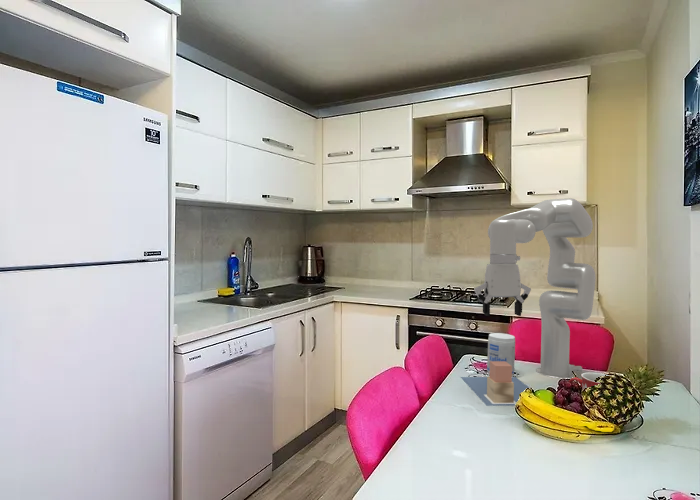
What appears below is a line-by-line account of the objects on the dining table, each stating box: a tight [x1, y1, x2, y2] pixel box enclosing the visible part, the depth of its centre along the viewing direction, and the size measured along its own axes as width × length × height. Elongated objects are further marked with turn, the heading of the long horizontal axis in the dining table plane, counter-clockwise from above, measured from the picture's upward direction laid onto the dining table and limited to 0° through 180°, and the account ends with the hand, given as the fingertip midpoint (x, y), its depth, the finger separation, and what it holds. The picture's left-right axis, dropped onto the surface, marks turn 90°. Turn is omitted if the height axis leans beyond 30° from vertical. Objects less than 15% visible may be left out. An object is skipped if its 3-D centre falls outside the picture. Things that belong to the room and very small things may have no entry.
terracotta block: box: [488, 361, 513, 382], centre depth 129 cm, size 5×5×5 cm
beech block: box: [486, 376, 514, 403], centre depth 130 cm, size 6×6×6 cm
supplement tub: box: [486, 332, 516, 376], centre depth 157 cm, size 10×10×15 cm
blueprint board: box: [460, 376, 530, 407], centre depth 138 cm, size 20×26×1 cm
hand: (502, 315), depth 129 cm, fingers open, 9 cm apart
